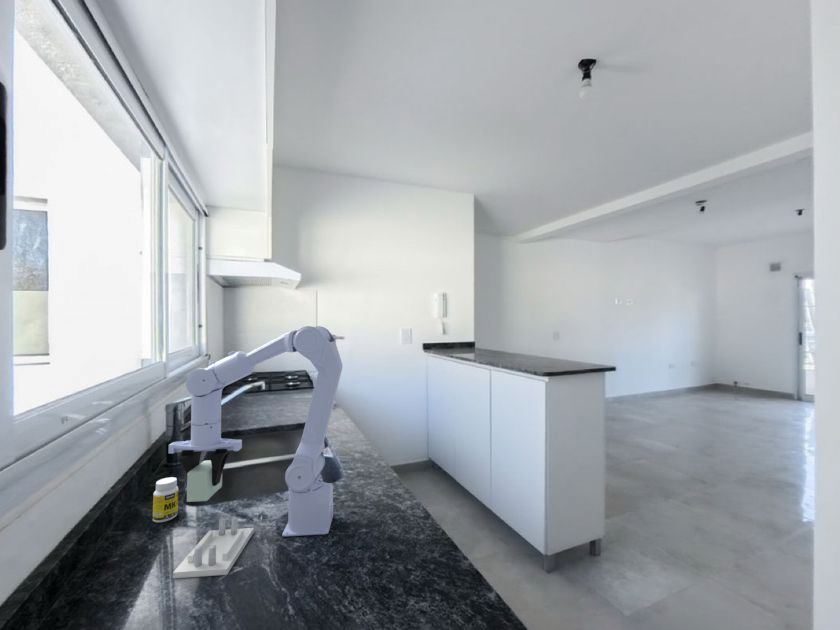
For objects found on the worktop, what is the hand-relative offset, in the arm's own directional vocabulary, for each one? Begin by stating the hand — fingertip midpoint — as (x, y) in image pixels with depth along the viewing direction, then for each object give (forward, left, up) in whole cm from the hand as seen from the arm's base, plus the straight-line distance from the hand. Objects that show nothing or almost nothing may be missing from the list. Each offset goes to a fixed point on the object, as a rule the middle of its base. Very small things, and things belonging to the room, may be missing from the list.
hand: (205, 484), depth 78 cm
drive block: (0, 0, -2) cm, 2 cm away
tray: (-7, +10, -9) cm, 15 cm away
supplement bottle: (+11, -5, -10) cm, 16 cm away
